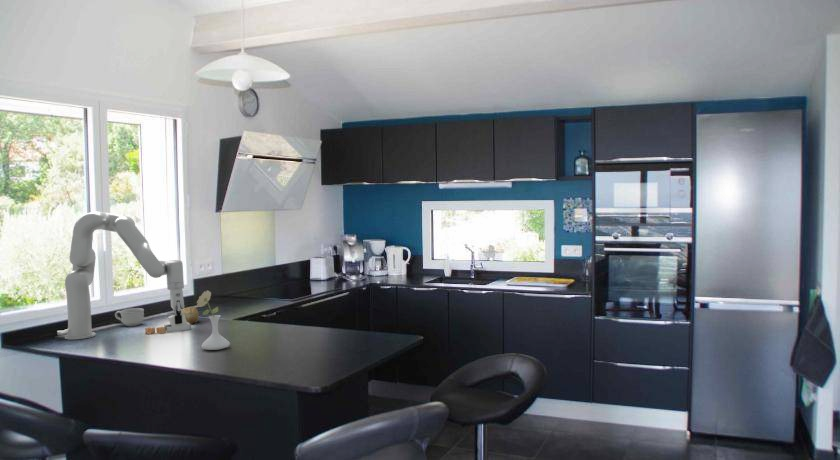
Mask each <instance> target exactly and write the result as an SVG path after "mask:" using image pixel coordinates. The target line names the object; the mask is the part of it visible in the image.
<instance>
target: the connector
mask: <svg viewBox="0 0 840 460" xmlns="http://www.w3.org/2000/svg"><path fill="white" fill-rule="evenodd" d="M181 314H182V324H175V315H174V314H173V315H170V316H167V317H168V318H167V319H168V321H169V324H170V325H168V326H165V327H166V330H167V327H172V326H181V325H187V321H186V318H185V315H184V313H183V312H181Z"/></svg>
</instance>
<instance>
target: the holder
mask: <svg viewBox="0 0 840 460" xmlns="http://www.w3.org/2000/svg"><path fill="white" fill-rule="evenodd" d="M168 325H170V323H167V324H164V326H163V327H165V326H168ZM191 330H192V324H190V323H188V322H187V325H181V326H172V327H167V330H166V333H176V332H184V331H191Z"/></svg>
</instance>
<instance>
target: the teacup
mask: <svg viewBox="0 0 840 460" xmlns="http://www.w3.org/2000/svg"><path fill="white" fill-rule="evenodd" d="M144 312H145V309H144V308H142V307H141V308H140V307H136V308H135V307H134V308H133V307H131V308H125V309H122V310H118V311H116V312H115V313H114V317H115V319H117V320H118V321H120V322H121V323H122V324H123V325H125V326H126V327H137V326H139V325H141V324H142V323H143V322H144V319H145V313H144ZM118 314H120V316H119V315H118Z"/></svg>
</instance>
